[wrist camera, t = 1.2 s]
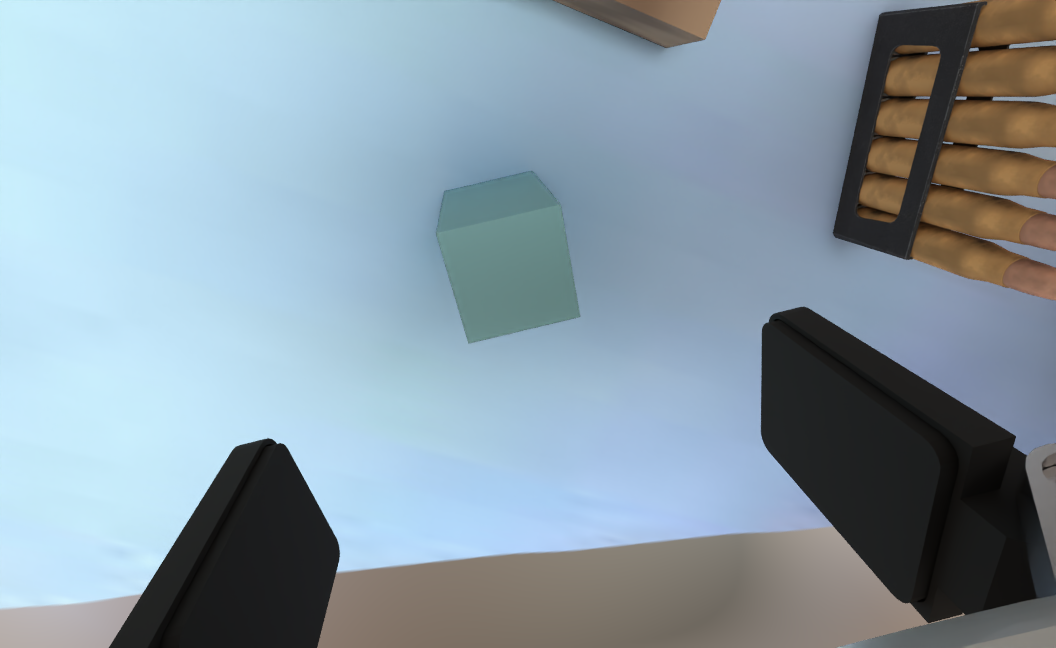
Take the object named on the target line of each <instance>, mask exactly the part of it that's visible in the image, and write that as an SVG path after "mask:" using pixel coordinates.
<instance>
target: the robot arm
mask: <svg viewBox="0 0 1056 648" xmlns="http://www.w3.org/2000/svg"><path fill="white" fill-rule="evenodd" d="M761 436H762V440H763V442H764V444H765V446H766V448H767V450H768V451H769V452H770V453H771V455H772V456H773V457H774V458H775V459H776V460H777V462H778V463H779V464H780V465H781V466H782V467H783V468H784V470H785V471H786V472H787V473H788V474H789V475H790V477H791V478H792V479H793V480H794V481H795V482H796V483H797V485H798V486H799V487H800V488H801V489H802V490H803V492H804V493H805V494H806V495H807V496H808V497H809V498H810V500H811V501H812V502H813V503H814V504H815V505H816V507H817V508H818V509H819V510H820V511H821V512H822V513H823V515H824V516H825V517H826V518H827V519H828V520H829V522H830V523H831V524H832V525H833V526H834V527H835V529H836V530H837V531H838V532H839V533H840V534H841V535H842V537H843V538H844V539H845V540H846V541H847V542H848V544H849V545H850V546H851V547H852V548H853V549H854V550H855V551H856V553H857V554H858V555H859V556H860V557H861V559H862V560H863V561H864V562H865V563H866V564H867V565H868V567H869V568H870V569H871V570H872V571H873V572H874V574H875V575H876V576H877V577H878V578H879V579H880V580H881V582H882V583H883V584H884V585H885V586H886V587H887V589H888V590H889V591H890V592H891V593H892V594H893V595H894V596H895V597H896V598H897V599H898V600H900V601H901V602H903V603H911V604H912V605H913V607H914V608H915V609H916V610H917V611H918V612H919V613H920V614H921V616H922V617H923V618H924V619H925V620H926V621H927V622H928V623H931V622H935V621H938V620H942V619H946V618H950V617H953V616H957V615H961V614H962V613H964V614H965V615H964V616H960V617H956V618H952V619H948V620H944V621H940V622H936V623H931V624H927V625H923V626H919V627H915V628H911V629H906V630H902V631H899V632H895V633H891V634H887V635H883V636H879V637H875V638H872V639H868V640H864V641H860V642H856V643H853V644H849V645H845V646H841V647H837V648H1056V443H1055V444H1047V445H1044V446H1041V447H1038V448H1035V449H1033V450H1032V451H1031V453H1030V454H1029V455H1028V456H1027V455H1025V454H1023V453H1022V452H1020V451H1019V450H1017V449H1016V448H1014V447H1013V445H1014V442H1015V438H1016V436H1015V435H1013V434H1011V433H1010V432H1008V431H1007V430H1005V429H1003V428H1002V427H1000V426H999V425H997V424H995V423H994V422H992V421H990V420H989V419H987V418H986V417H984V416H982V415H981V414H979V413H977V412H976V411H974V410H973V409H971V408H969V407H968V406H966V405H964V404H963V403H961V402H960V401H958V400H956V399H955V398H953V397H951V396H950V395H948V394H947V393H945V392H943V391H942V390H940V389H939V388H937V387H935V386H934V385H932V384H930V383H929V382H927V381H926V380H924V379H922V378H921V377H919V376H917V375H916V374H914V373H913V372H911V371H909V370H908V369H906V368H904V367H903V366H901V365H900V364H898V363H896V362H895V361H893V360H892V359H890V358H888V357H887V356H885V355H883V354H882V353H880V352H879V351H877V350H875V349H874V348H872V347H870V346H869V345H867V344H866V343H864V342H862V341H861V340H859V339H857V338H856V337H854V336H853V335H851V334H849V333H848V332H846V331H845V330H843V329H841V328H840V327H838V326H836V325H835V324H833V323H832V322H830V321H828V320H827V319H825V318H823V317H822V316H820V315H819V314H817V313H815V312H814V311H812V310H810V309H809V308H806V307H799V308H795V309H791V310H787V311H783V312H778V313H774V314H773V315H772V316H771V317H770V319H769V323H766V324H764V326H763V328H762V381H761ZM339 557H340V550H339V544H338V541H337V539H336V537H335V535H334V533H333V531H332V529H331V528H330V526H329V524H328V522H327V520H326V518H325V516H324V515H323V513H322V511H321V509H320V507H319V505H318V504H317V502H316V500H315V498H314V496H313V494H312V493H311V491H310V489H309V487H308V485H307V483H306V481H305V480H304V478H303V476H302V474H301V472H300V470H299V469H298V467H297V465H296V463H295V461H294V459H293V458H292V456H291V454H290V452H289V450H288V449H287V447H286V446H285V445H284V444H281V443H279V444H277V443H276V442H275V441H274V440H272V439H269V438H267V439H263V440H259V441H255V442H251V443H247V444H243V445H239V446H237V447H235V448H234V449H233V450H232V452H231V454H230V455H229V457H228V458H227V460H226V462H225V463H224V465H223V466H222V468H221V470H220V471H219V473H218V474H217V476H216V478H215V479H214V481H213V482H212V484H211V486H210V487H209V489H208V490H207V492H206V493H205V495H204V497H203V498H202V500H201V501H200V503H199V505H198V506H197V508H196V509H195V511H194V513H193V514H192V516H191V517H190V519H189V521H188V522H187V524H186V525H185V527H184V529H183V530H182V532H181V533H180V535H179V537H178V538H177V540H176V541H175V543H174V545H173V546H172V548H171V549H170V551H169V553H168V554H167V556H166V557H165V559H164V561H163V562H162V564H161V565H160V567H159V568H158V570H157V572H156V573H155V575H154V576H153V578H152V580H151V581H150V583H149V584H148V586H147V588H146V589H145V591H144V592H143V594H142V596H141V597H140V599H139V600H138V602H137V604H136V605H135V607H134V608H133V610H132V612H131V613H130V615H129V616H128V618H127V620H126V621H125V623H124V625H123V626H122V628H121V630H120V631H119V632H118V634H117V636H116V637H115V639H114V641H113V642H112V644H111V645H110V647H109V648H317V646H318V642H319V638H320V634H321V630H322V626H323V622H324V618H325V614H326V610H327V606H328V602H329V598H330V594H331V590H332V586H333V583H334V579H335V575H336V571H337V567H338V563H339Z"/></svg>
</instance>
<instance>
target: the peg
mask: <svg viewBox="0 0 1056 648" xmlns="http://www.w3.org/2000/svg"><path fill="white" fill-rule="evenodd" d="M436 235H437V239H438V242H439V245H440V249H441V252H442V256H443V259H444V262H445V266H446V269H447V272H448V276H449V279H450V283H451V286H452V289H453V293H454V296H455V299H456V303H457V306H458V310H459V313H460V316H461V320H462V323H463V326H464V330H465V333H466V337H467V340H468V343H473V342H477V341H481V340H486V339H490V338H494V337H498V336H502V335H506V334H511V333H515V332H519V331H523V330H527V329H532V328H536V327H540V326H544V325H548V324H553V323H557V322H561V321H565V320H569V319H574V318H578V317H580V313H579V307H578V301H577V296H576V290H575V284H574V279H573V273H572V267H571V261H570V256H569V250H568V244H567V239H566V233H565V227H564V222H563V216H562V210H561V205H560V203H559V202H558V201H557V200H556V199H555V197H554V196H553V195H552V194H551V193H550V191H549V190H548V189H547V188H546V187H545V186H544V184H543V183H542V182H541V181H540V180H539V179H538V177H537V176H536V175H535V174H534V173H533V172H532V171H529V172H525V173H521V174H516V175H512V176H508V177H503V178H499V179H495V180H490V181H486V182H482V183H478V184H473V185H469V186H465V187H460V188H456V189H452V190H448V191H444V196H443V201H442V206H441V211H440V216H439V221H438V226H437V231H436Z"/></svg>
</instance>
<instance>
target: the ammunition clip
mask: <svg viewBox="0 0 1056 648" xmlns="http://www.w3.org/2000/svg"><path fill="white" fill-rule="evenodd" d="M1053 40H1056V0H980V1H974V2H968V3H962V4H955V5H946V6H937V7H928V8H919V9H910V10H902V11H893V12H884V13H882V14H881V15H879V20H878V24H877V29H876V34H875V38H874V43H873V48H872V52H871V57H870V62H869V66H868V71H867V76H866V80H865V85H864V90H863V95H862V99H861V104H860V109H859V113H858V118H857V123H856V127H855V132H854V137H853V141H852V146H851V151H850V155H849V160H848V165H847V170H846V174H845V179H844V184H843V188H842V193H841V198H840V202H839V207H838V212H837V216H836V221H835V226H834V230H833V234H834V236H835V237H836V238H839V239H842V240H845V241H849V242H852V243H855V244H858V245H861V246H864V247H868V248H871V249H874V250H877V251H880V252H884V253H887V254H890V255H893V256H896V257H899V258H903V259H906V260H909V259H915V260H918V261H921V262H924V263H926V264H929V265H932V266H935V267H937V268H940V269H943V270H946V271H948V272H951V273H954V274H957V275H959V276H962V277H965V278H968V279H973V280H980V281H986V282H990V283H994V284H997V285H1000V286H1003V287H1006V288H1012V289H1015V290H1018V291H1021V292H1024V293H1027V294H1030V295H1034V296H1038V297H1042V298H1046V299H1051V300H1056V268H1055V267H1052V266H1050V265H1047V264H1044V263H1040V262H1037V261H1034V260H1031V259H1029V258H1027V257H1024V256H1022V255H1019V254H1016V253H1013V252H1010V251H1008V250H1006V249H1004V248H1002V247H1001V246H999V245H997V244H995V243H993V242H990V241H987V240H983V239H980V238H985V239H995V240H1006V241H1010V242H1014V243H1019V244H1024V245H1031V246H1035V247H1039V248H1043V249H1047V250H1052V251H1056V215H1052V214H1048V213H1046V212H1043V211H1039V210H1035V209H1031V208H1027V207H1024V206H1022V205H1020V204H1018V203H1015V202H1013V201H1011V200H1008V199H1004V198H999V197H994V196H990V195H985V194H980V193H975V192H970V191H965V190H964V189H968V190H974V191H979V192H985V193H990V194H996V195H1007V196H1017V195H1025V196H1032V197H1039V198H1051V199H1056V161H1051V160H1044V159H1041V158H1038V157H1036V156H1033V155H1030V154H1026V153H1021V152H1014V151H1005V150H996V149H988V148H979V147H977V146H978V145H986V146H996V147H1007V148H1020V149H1022V148H1034V147H1056V106H1055V105H1051V104H1047V103H1041V102H1032V101H992V99H993V97H1037V96H1045V95H1051V94H1056V46H1040V47H1026V48H1012V49H1009V46H1010V44H1020V43H1031V42H1042V41H1053ZM977 47H978V48H979V51H971V52H969V49H970V48H977ZM934 51H940V54H929V55H927V53H928V52H934ZM916 96H930V99H915V98H916ZM956 96H963V97H967V99H966V100H955V98H956ZM905 138H914V139H919V140H909V139H905ZM943 141H945V142H954V143H953V144H944V143H943ZM896 176H899V177H896ZM901 177H904V178H901ZM906 178H908V179H906ZM931 183H936V184H941V186H940V185H936V184H931ZM952 230H954V231H952ZM956 231H957V232H956ZM959 232H961V233H959ZM963 233H965V234H963ZM966 234H968V235H966ZM969 235H972V236H969ZM973 236H976V237H979V238H976V237H973Z"/></svg>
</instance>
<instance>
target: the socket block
mask: <svg viewBox="0 0 1056 648" xmlns="http://www.w3.org/2000/svg"><path fill="white" fill-rule="evenodd" d="M554 1H556V2H558V3H561V4H563V5H565V6H568V7H570V8H573V9H575V10H577V11H580V12H582V13H584V14H587V15H589V16H592V17H594V18H596V19H599V20H601V21H604V22H606V23H608V24H611V25H613V26H615V27H618V28H620V29H623V30H625V31H627V32H630V33H632V34H635V35H637V36H639V37H642V38H644V39H646V40H649V41H651V42H654V43H656V44H658V45H661V46H663V47H666V48H669V47H673V46H678V45H682V44H687V43H692V42H696V41H701V40H705V38H706V36H707V34H708V31H709V29H710V26H711V24H712V21H713V19H714V16H715V14H716V12H717V9H718V7H719V4H720V2H721V0H554Z"/></svg>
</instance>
